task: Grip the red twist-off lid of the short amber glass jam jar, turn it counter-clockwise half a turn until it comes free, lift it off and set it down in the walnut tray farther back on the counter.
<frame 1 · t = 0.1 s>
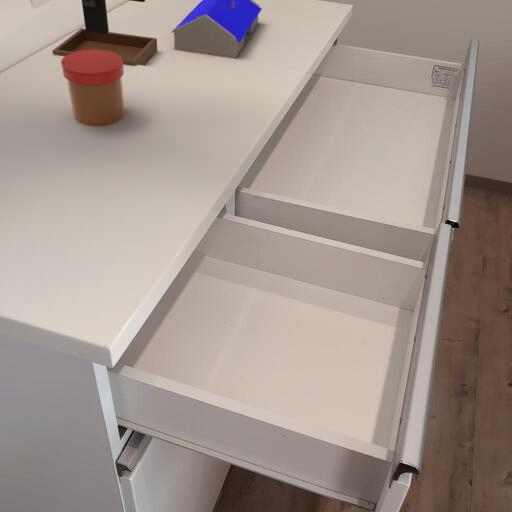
hand: (117, 15, 73), 16 cm above the table, tool pointing down, fingers open, 13 cm apart
jar: (100, 124, 84), on the table
tray: (108, 57, 103), on the table
toy house: (218, 36, 116), on the table
cap: (92, 63, 77), point 10 cm above the table, screwed on, not yet turned
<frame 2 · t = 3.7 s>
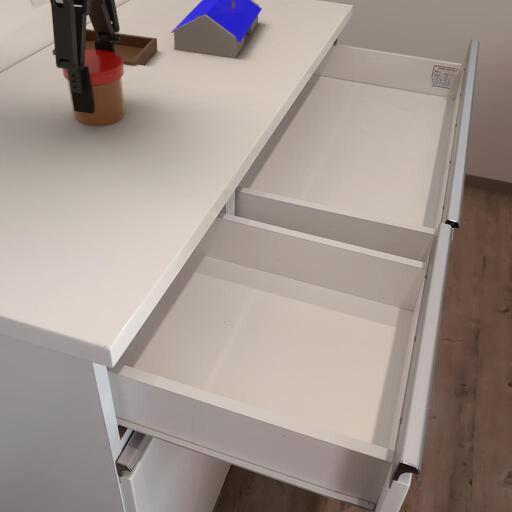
hand: (97, 97, 81), 4 cm above the table, tool pointing down, fingers closed on cap, 8 cm apart
cap: (92, 63, 77), point 10 cm above the table, screwed on, not yet turned, touching gripper
everything else where it was.
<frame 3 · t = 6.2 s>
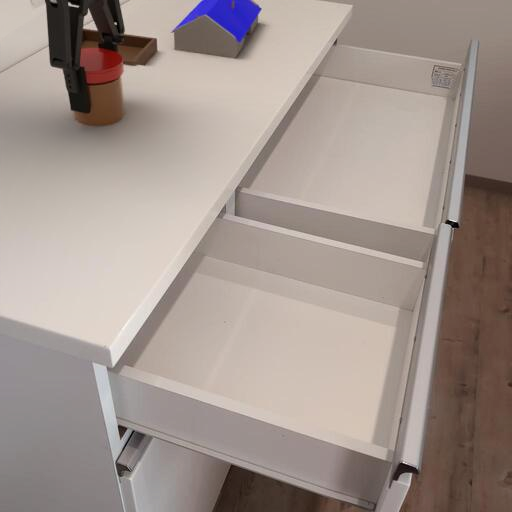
hand: (97, 98, 81), 4 cm above the table, tool pointing down, fingers closed on cap, 8 cm apart
cap: (92, 61, 77), point 10 cm above the table, off its thread, touching gripper
everything else where it was.
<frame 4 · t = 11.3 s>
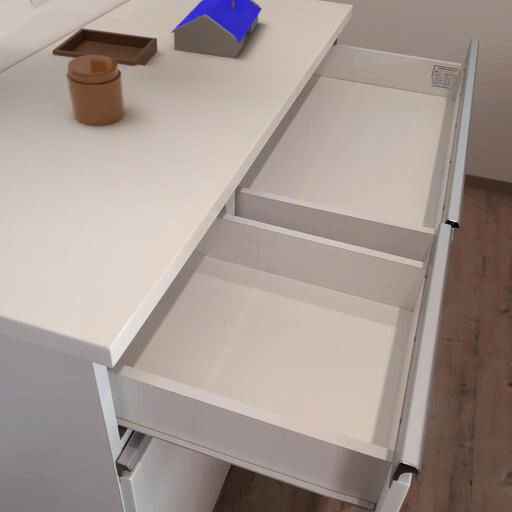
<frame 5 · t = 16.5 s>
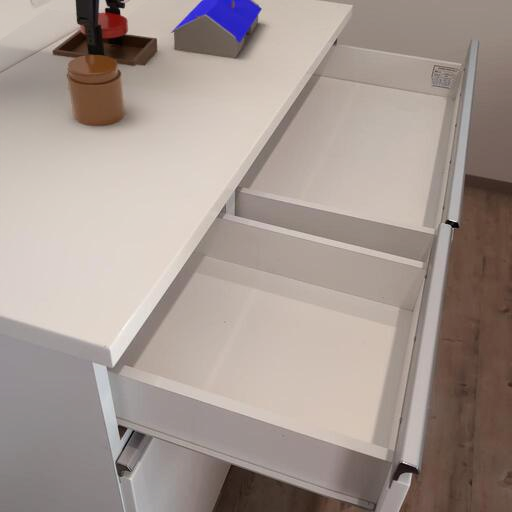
hand: (106, 52, 102), 1 cm above the table, tool pointing down, fingers closed on cap, 8 cm apart
cap: (103, 22, 99), point 6 cm above the table, off its thread, touching gripper
everything else where it was.
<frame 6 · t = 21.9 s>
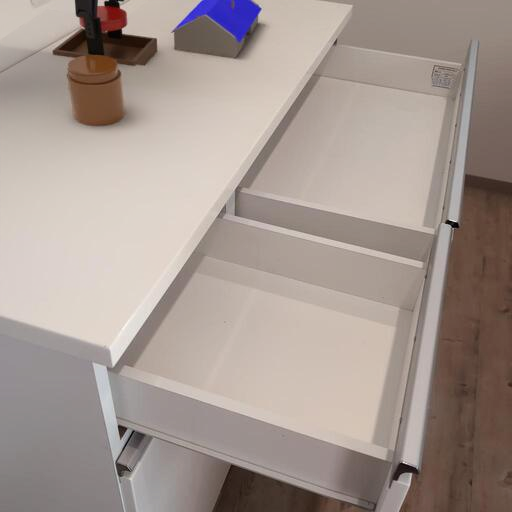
hand: (106, 45, 102), 2 cm above the table, tool pointing down, fingers closed on cap, 8 cm apart
cap: (103, 15, 98), point 8 cm above the table, off its thread, touching gripper
everything else where it was.
when the fingers open (3 cm above the table, at t = 27.0 s): cap drops 6 cm, resting on tray.
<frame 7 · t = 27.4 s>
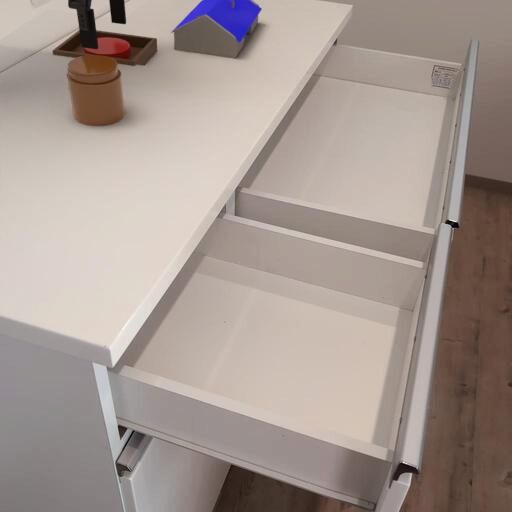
hand: (105, 34, 100), 4 cm above the table, tool pointing down, fingers open, 13 cm apart
cap: (107, 47, 102), point 2 cm above the table, off its thread, touching tray
everything else where it was.
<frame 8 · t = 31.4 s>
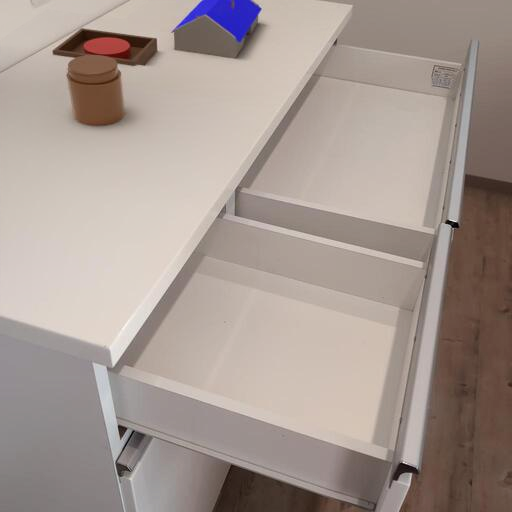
nothing on the table moved.
at the end: cap inside the target area in the tray (0.1 cm from its centre), point 1.9 cm above the tray's base; cap point 1.9 cm above the table; the gripper is holding nothing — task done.
